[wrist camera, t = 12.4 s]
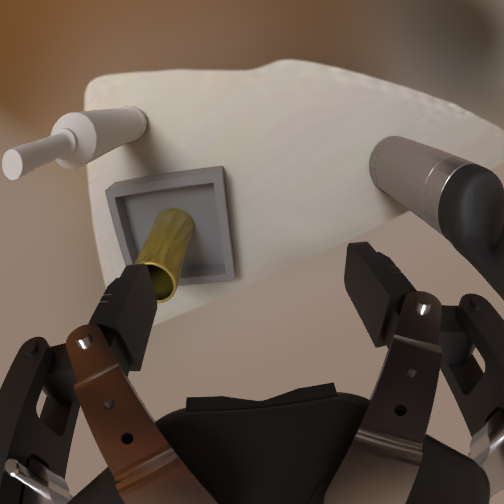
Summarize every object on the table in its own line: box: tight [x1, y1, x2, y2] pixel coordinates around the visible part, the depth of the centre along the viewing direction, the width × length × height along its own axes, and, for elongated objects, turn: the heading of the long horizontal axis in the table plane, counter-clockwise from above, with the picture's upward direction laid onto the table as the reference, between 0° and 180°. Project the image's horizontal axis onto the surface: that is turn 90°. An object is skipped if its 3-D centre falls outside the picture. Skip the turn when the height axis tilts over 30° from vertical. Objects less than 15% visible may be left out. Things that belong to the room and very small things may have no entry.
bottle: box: [2, 106, 147, 180], centre depth 23 cm, size 5×5×25 cm
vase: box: [135, 208, 195, 303], centre depth 35 cm, size 6×6×14 cm
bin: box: [105, 166, 235, 285], centre depth 41 cm, size 16×16×4 cm
